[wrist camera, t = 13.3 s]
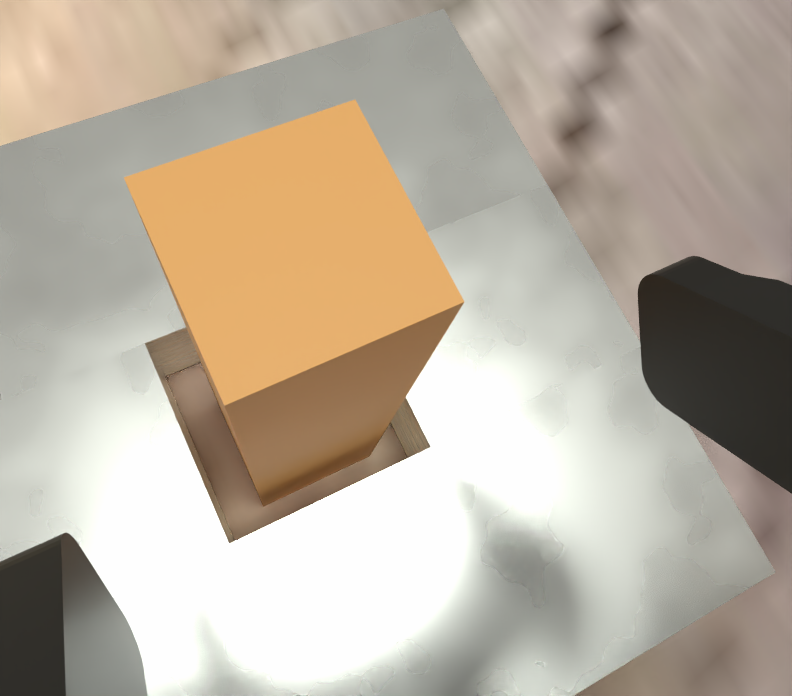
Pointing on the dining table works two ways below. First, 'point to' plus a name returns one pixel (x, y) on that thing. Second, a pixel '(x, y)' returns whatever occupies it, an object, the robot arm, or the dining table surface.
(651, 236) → the dining table surface
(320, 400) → the square peg
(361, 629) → the collar plate
